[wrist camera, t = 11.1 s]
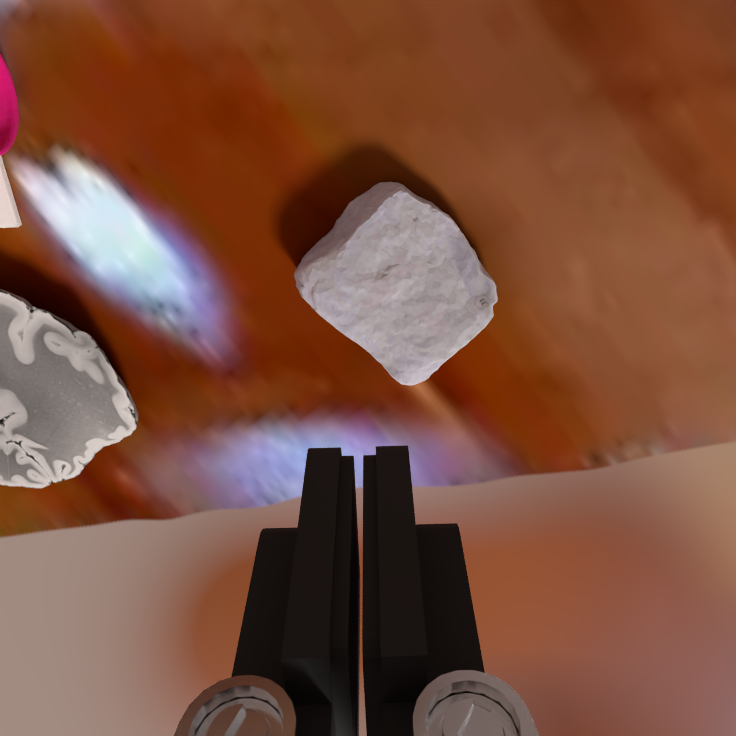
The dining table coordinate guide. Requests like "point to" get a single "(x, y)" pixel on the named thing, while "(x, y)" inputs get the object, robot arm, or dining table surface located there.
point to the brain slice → (54, 397)
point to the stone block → (398, 281)
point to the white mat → (7, 202)
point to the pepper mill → (7, 109)
